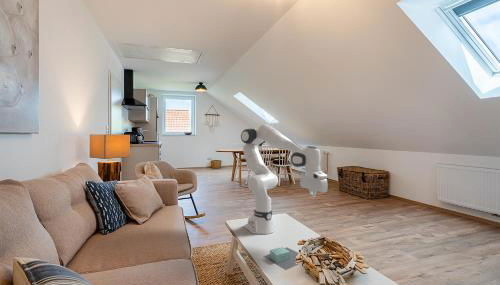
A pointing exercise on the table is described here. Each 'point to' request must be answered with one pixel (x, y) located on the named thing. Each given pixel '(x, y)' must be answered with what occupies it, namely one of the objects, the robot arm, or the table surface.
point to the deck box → (279, 254)
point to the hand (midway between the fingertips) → (312, 197)
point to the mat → (287, 263)
